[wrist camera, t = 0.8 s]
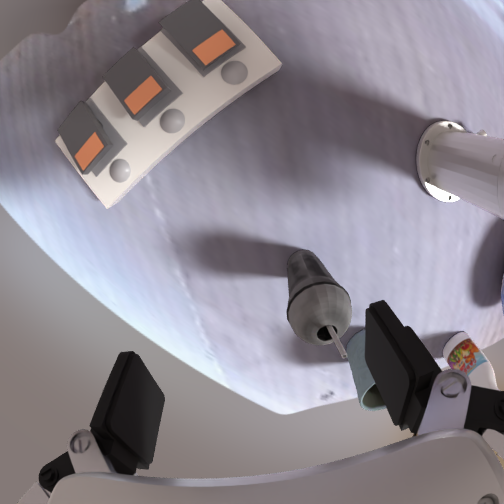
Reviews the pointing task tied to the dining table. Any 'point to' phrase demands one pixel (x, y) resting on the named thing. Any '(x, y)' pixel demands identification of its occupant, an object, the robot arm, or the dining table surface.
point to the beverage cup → (316, 302)
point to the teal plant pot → (363, 374)
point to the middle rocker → (136, 84)
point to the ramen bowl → (502, 293)
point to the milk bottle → (469, 360)
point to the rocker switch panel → (172, 104)
